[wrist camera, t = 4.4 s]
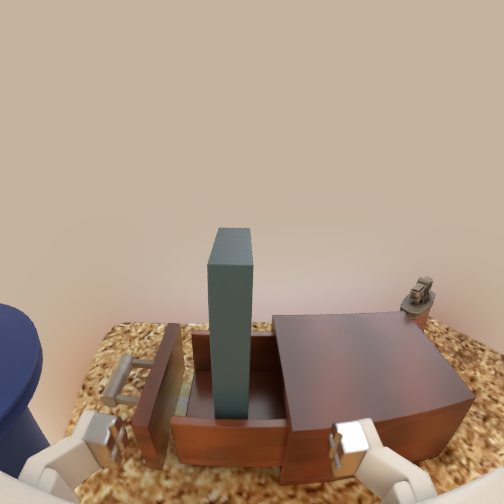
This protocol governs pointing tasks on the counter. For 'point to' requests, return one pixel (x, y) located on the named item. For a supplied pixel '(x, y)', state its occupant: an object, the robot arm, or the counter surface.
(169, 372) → the drawer
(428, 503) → the robot arm
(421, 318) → the lighter
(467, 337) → the counter surface
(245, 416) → the dark teal rectangular block
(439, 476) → the counter surface
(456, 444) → the counter surface
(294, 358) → the cabinet
